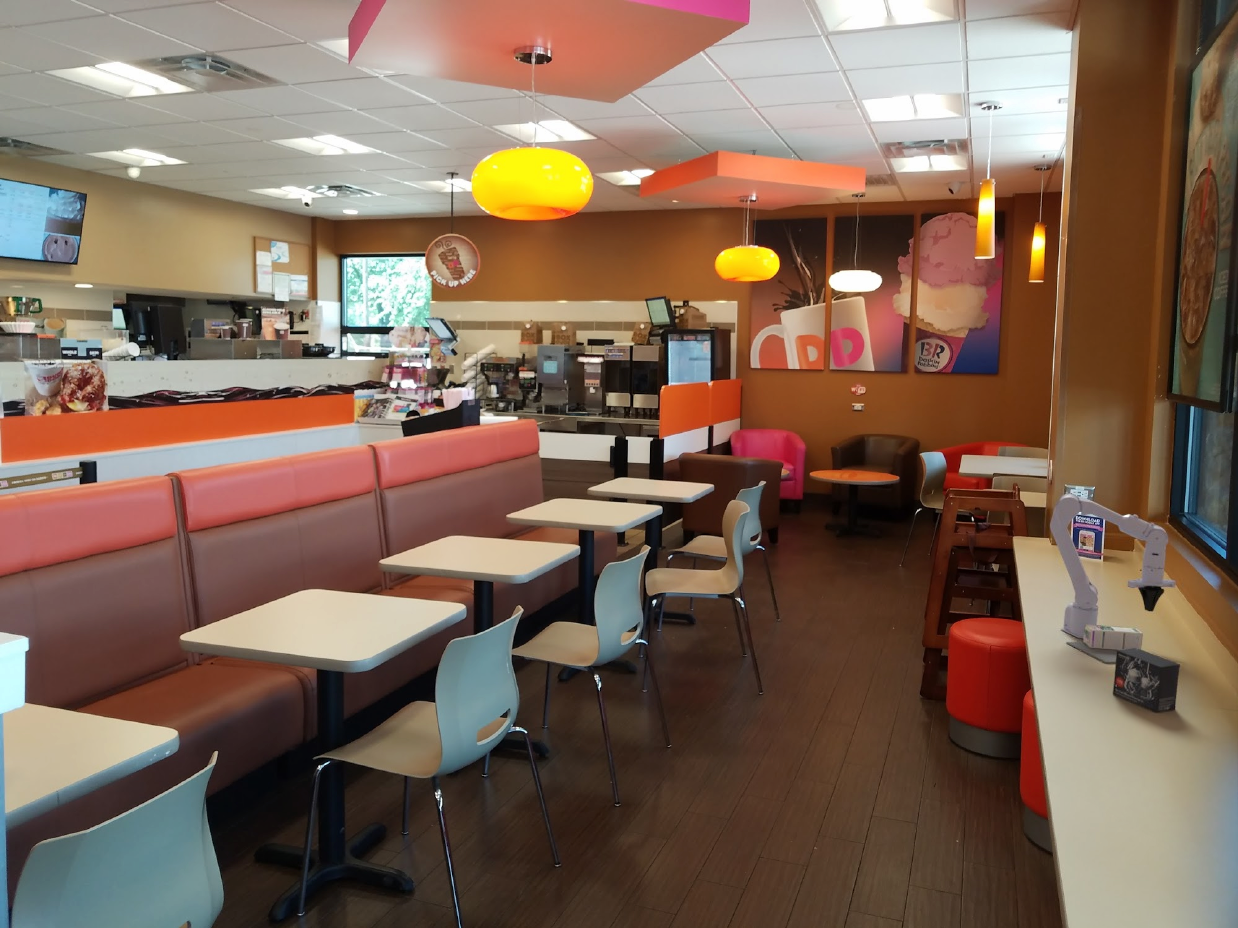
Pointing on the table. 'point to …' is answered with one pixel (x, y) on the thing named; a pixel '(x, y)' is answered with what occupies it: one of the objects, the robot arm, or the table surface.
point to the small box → (1146, 679)
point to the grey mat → (1096, 652)
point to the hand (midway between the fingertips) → (1148, 610)
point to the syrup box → (1112, 637)
